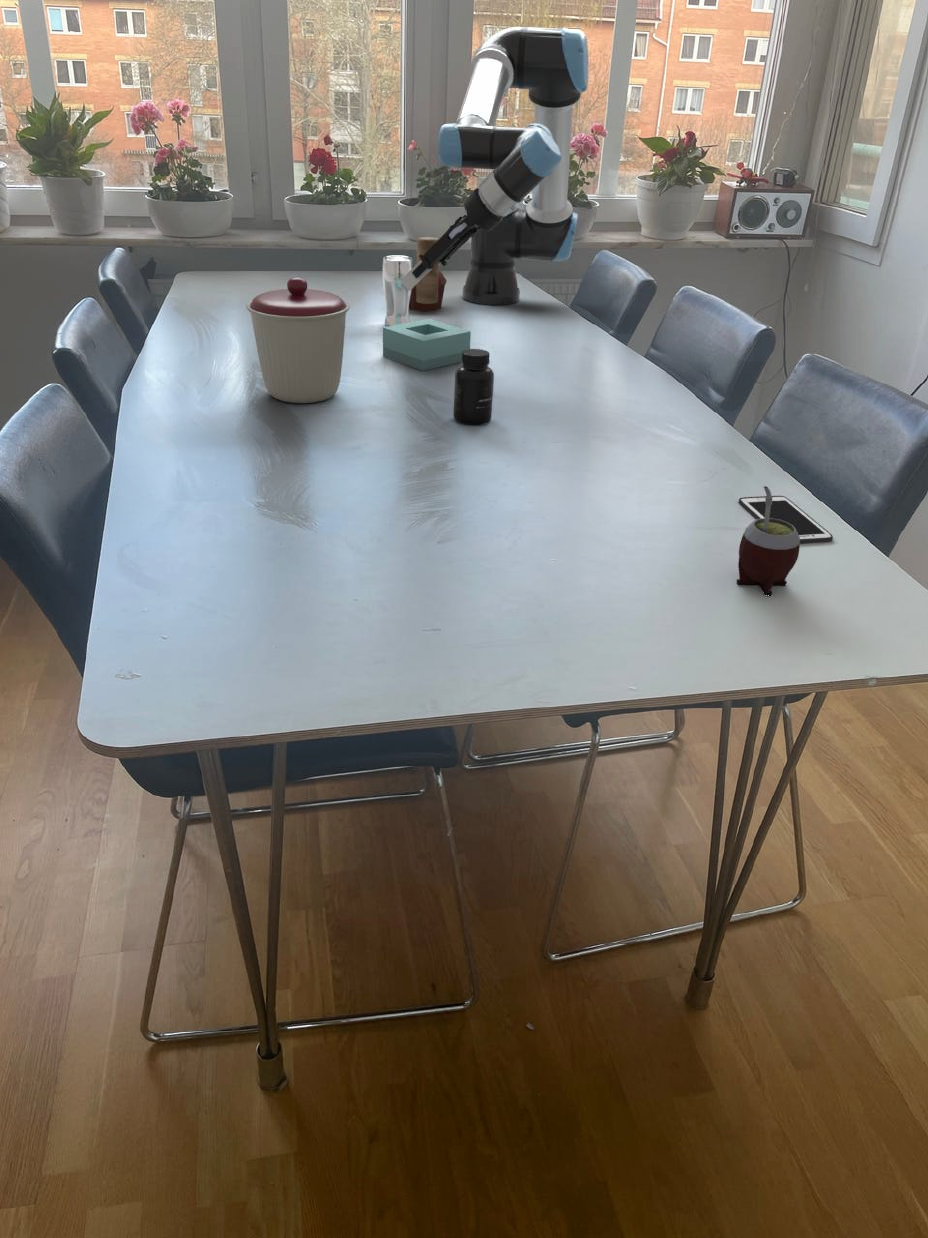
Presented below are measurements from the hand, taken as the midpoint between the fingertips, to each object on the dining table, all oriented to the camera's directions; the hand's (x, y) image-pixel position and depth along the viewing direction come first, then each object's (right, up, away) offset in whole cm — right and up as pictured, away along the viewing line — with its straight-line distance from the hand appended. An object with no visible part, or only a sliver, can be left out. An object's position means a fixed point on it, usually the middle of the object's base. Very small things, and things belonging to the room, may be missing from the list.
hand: (410, 282), depth 193 cm
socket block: (+3, -13, +7) cm, 15 cm away
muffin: (+1, +10, +46) cm, 47 cm away
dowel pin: (+3, -4, +1) cm, 5 cm away
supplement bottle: (+12, -34, -25) cm, 44 cm away
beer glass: (-5, +1, +30) cm, 30 cm away
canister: (-19, -27, -17) cm, 37 cm away
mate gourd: (+48, -65, -74) cm, 110 cm away
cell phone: (+57, -55, -57) cm, 98 cm away
